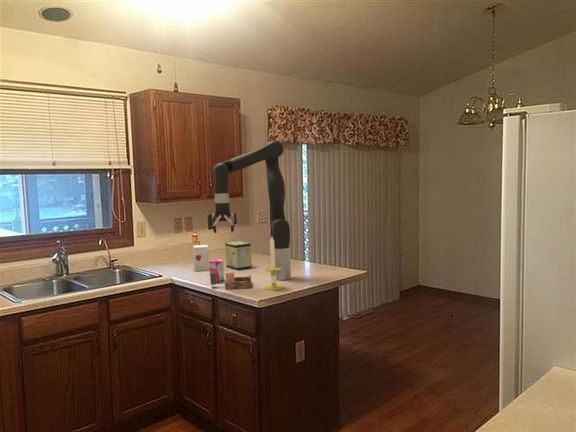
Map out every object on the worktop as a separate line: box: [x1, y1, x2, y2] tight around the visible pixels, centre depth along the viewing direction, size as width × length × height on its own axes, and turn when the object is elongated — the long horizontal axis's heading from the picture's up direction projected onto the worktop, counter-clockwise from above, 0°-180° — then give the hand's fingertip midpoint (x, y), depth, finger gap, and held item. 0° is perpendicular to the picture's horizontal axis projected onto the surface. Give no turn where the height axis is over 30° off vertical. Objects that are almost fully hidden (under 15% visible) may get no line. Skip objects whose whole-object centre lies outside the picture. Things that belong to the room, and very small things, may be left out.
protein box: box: [224, 241, 253, 271], centre depth 311 cm, size 10×16×16 cm
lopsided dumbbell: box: [209, 270, 235, 286], centre depth 260 cm, size 12×5×6 cm, turn 93°
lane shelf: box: [224, 274, 252, 290], centre depth 261 cm, size 13×12×4 cm
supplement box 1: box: [193, 244, 210, 272], centre depth 309 cm, size 9×9×15 cm
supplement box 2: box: [209, 259, 226, 283], centre depth 275 cm, size 6×6×12 cm
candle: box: [264, 236, 285, 291], centre depth 253 cm, size 10×10×27 cm
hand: (223, 232), depth 261 cm, fingers open, 8 cm apart
